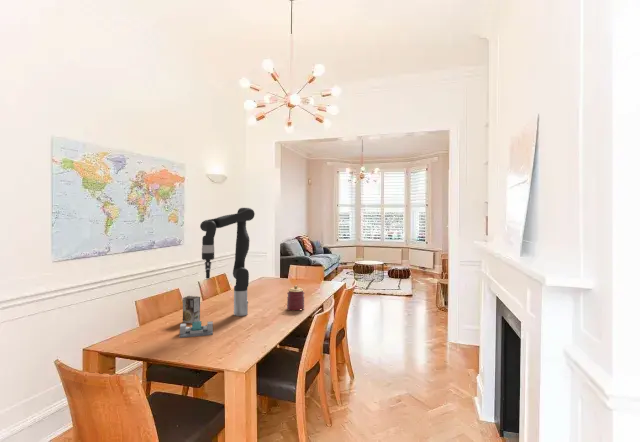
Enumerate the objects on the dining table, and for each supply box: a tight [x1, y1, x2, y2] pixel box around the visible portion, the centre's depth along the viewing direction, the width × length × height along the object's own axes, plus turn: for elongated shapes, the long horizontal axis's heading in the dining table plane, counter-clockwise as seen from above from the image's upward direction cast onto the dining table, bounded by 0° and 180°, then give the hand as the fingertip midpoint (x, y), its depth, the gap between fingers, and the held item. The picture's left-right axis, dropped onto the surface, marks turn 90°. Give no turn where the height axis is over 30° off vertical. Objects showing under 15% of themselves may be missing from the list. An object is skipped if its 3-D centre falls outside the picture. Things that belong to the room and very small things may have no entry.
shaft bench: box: [179, 320, 214, 339], centre depth 200 cm, size 18×12×5 cm, turn 108°
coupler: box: [191, 320, 202, 331], centre depth 201 cm, size 5×5×5 cm
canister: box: [286, 285, 305, 311], centre depth 255 cm, size 13×13×18 cm
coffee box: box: [182, 295, 201, 324], centre depth 221 cm, size 9×6×16 cm
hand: (207, 277), depth 216 cm, fingers open, 8 cm apart
